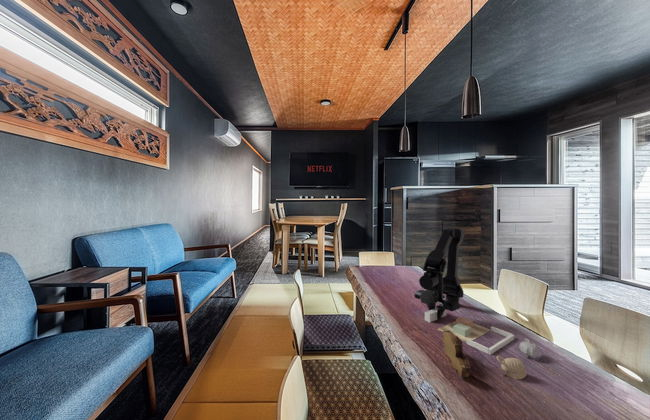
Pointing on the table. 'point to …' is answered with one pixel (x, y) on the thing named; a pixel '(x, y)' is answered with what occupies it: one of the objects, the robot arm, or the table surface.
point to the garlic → (529, 349)
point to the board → (475, 333)
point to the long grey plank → (433, 315)
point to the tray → (497, 346)
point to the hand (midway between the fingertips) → (435, 318)
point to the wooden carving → (456, 353)
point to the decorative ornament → (513, 367)
